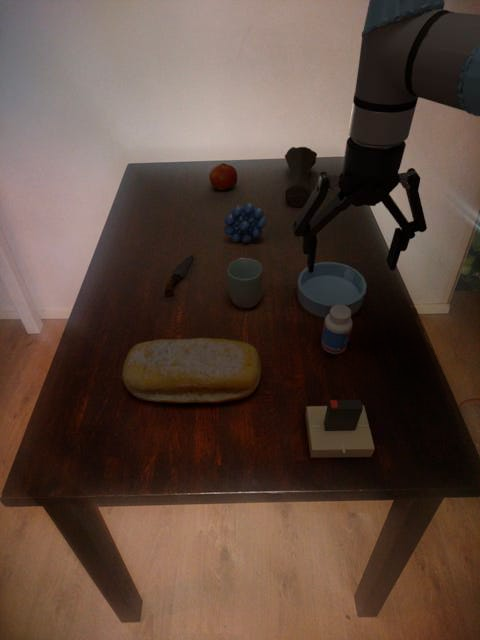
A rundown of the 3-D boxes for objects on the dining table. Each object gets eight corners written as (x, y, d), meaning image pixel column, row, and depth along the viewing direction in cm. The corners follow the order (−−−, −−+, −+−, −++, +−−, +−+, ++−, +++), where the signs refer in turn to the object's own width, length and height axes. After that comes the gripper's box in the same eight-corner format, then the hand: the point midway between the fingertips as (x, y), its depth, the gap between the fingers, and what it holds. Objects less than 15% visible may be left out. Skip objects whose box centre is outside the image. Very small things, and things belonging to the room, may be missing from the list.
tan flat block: (360, 411, 69) (363, 401, 67) (372, 460, 63) (376, 452, 61) (304, 412, 70) (306, 402, 67) (310, 461, 63) (312, 453, 61)
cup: (257, 316, 87) (256, 282, 80) (225, 309, 89) (221, 276, 82) (266, 294, 92) (267, 260, 85) (236, 288, 94) (234, 255, 87)
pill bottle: (346, 356, 78) (354, 323, 71) (319, 352, 79) (325, 319, 72) (347, 336, 82) (355, 303, 75) (322, 333, 83) (327, 300, 76)
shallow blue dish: (374, 289, 91) (377, 276, 89) (344, 329, 83) (347, 316, 80) (317, 267, 98) (319, 254, 95) (284, 301, 90) (285, 288, 87)
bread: (262, 408, 71) (262, 383, 65) (120, 411, 71) (108, 387, 66) (259, 351, 80) (259, 325, 74) (134, 355, 81) (124, 330, 75)
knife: (170, 293, 91) (153, 282, 92) (169, 299, 93) (152, 288, 93) (207, 260, 102) (191, 250, 103) (205, 266, 104) (190, 256, 104)
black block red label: (353, 421, 65) (361, 398, 59) (355, 430, 63) (363, 407, 58) (323, 422, 65) (328, 399, 60) (324, 431, 64) (330, 408, 58)
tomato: (205, 189, 130) (202, 166, 124) (222, 178, 135) (220, 155, 129) (226, 196, 126) (224, 173, 120) (243, 185, 130) (242, 162, 125)
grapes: (267, 234, 110) (267, 195, 101) (266, 248, 105) (266, 208, 96) (227, 233, 111) (224, 195, 102) (224, 247, 106) (220, 208, 97)
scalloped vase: (293, 172, 140) (290, 221, 123) (280, 148, 133) (275, 197, 116) (321, 159, 134) (322, 209, 118) (309, 133, 128) (308, 182, 111)
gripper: (462, 123, 52) (417, 251, 67) (279, 131, 53) (275, 255, 68) (486, 145, 47) (431, 278, 62) (283, 154, 48) (278, 283, 63)
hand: (350, 266), depth 65 cm, fingers open, 13 cm apart
